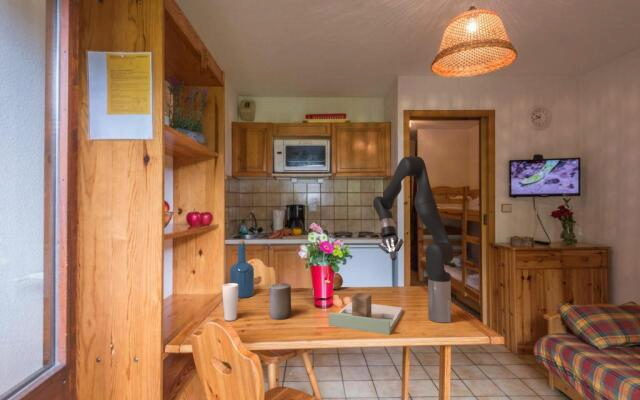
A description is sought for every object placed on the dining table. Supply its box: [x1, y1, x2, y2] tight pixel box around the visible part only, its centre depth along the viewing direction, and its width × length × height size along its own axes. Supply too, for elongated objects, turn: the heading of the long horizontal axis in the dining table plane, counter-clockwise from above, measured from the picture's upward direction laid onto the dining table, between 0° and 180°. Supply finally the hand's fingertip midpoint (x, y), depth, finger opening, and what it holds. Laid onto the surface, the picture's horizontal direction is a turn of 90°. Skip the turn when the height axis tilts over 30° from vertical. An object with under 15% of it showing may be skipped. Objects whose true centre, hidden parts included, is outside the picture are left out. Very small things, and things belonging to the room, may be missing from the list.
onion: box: [333, 272, 344, 291], centre depth 199 cm, size 10×10×10 cm
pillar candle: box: [268, 282, 292, 321], centre depth 153 cm, size 10×10×15 cm
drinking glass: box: [222, 282, 239, 322], centre depth 149 cm, size 7×7×15 cm
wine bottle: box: [228, 240, 255, 299], centre depth 186 cm, size 14×13×30 cm
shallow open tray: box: [328, 301, 404, 336], centre depth 149 cm, size 25×30×5 cm
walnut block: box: [351, 292, 372, 318], centre depth 142 cm, size 6×8×10 cm
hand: (394, 259), depth 166 cm, fingers closed
